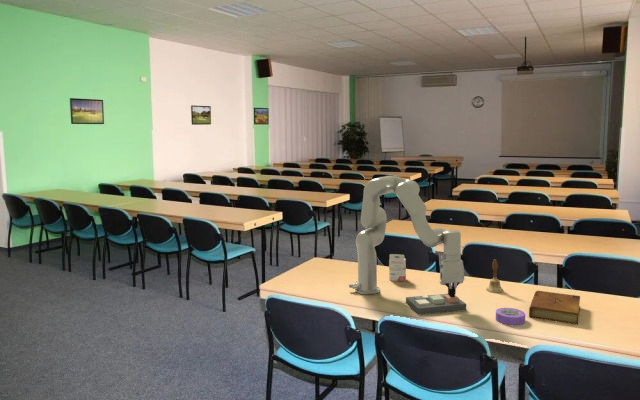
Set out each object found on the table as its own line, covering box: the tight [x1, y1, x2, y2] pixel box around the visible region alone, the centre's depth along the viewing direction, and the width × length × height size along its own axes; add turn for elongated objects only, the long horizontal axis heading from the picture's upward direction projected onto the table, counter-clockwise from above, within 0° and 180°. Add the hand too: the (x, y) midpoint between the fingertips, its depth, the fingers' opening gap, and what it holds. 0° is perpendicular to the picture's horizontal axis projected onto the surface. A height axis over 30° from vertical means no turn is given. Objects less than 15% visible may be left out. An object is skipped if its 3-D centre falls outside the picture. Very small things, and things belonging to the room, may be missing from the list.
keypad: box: [405, 293, 467, 316], centre depth 228 cm, size 23×15×4 cm, turn 100°
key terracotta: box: [444, 294, 460, 303], centre depth 228 cm, size 5×5×2 cm
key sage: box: [429, 294, 444, 304], centre depth 227 cm, size 5×5×2 cm
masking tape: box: [495, 307, 526, 327], centre depth 211 cm, size 12×12×4 cm
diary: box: [528, 290, 581, 326], centre depth 219 cm, size 23×19×6 cm
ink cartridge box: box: [388, 253, 407, 282], centre depth 269 cm, size 9×5×15 cm, turn 73°
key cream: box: [415, 299, 430, 306], centre depth 226 cm, size 5×5×2 cm
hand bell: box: [485, 258, 504, 294], centre depth 248 cm, size 8×8×16 cm
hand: (451, 296), depth 228 cm, fingers closed
